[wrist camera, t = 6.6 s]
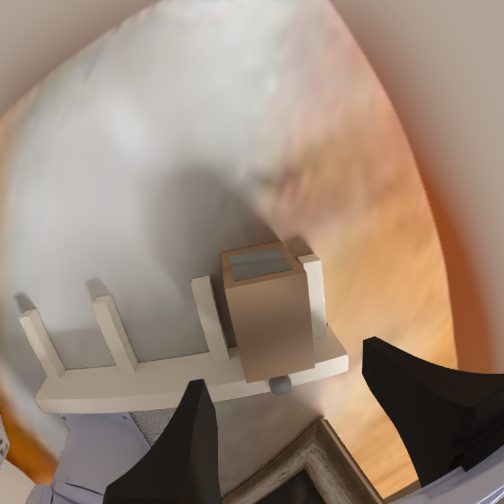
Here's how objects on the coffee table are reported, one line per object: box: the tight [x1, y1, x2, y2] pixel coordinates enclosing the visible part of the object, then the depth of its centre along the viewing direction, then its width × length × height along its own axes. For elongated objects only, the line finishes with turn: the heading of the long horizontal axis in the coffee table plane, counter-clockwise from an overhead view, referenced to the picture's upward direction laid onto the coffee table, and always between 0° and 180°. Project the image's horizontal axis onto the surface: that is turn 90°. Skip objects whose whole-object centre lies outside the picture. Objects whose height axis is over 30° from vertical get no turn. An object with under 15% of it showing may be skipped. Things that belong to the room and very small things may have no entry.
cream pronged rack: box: [19, 254, 348, 413], centre depth 19 cm, size 8×24×5 cm, turn 100°
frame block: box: [221, 241, 315, 384], centre depth 18 cm, size 6×4×6 cm, turn 9°
